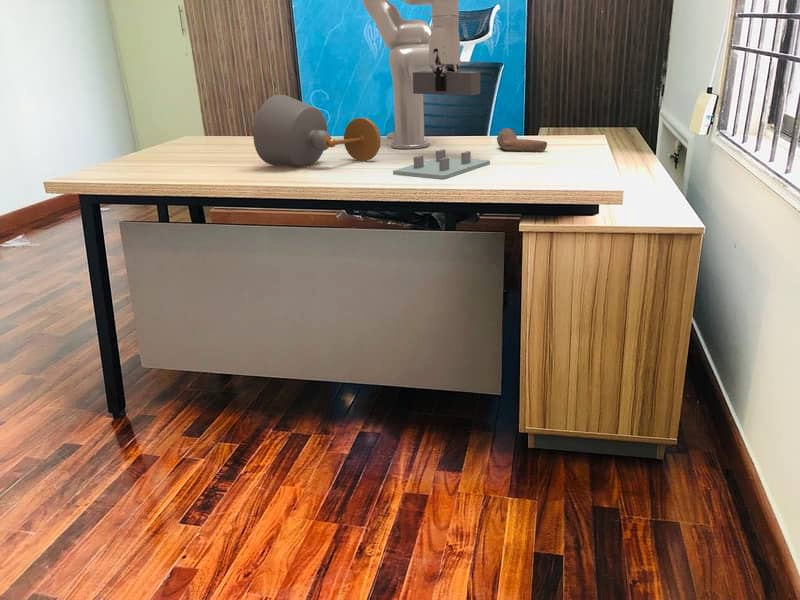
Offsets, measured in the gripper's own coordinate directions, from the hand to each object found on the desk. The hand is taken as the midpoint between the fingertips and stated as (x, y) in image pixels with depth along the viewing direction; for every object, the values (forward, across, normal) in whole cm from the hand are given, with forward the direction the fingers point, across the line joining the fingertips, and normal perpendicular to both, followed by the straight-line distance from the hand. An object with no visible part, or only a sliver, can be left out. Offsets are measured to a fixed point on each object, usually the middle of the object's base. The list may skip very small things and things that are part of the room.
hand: (446, 89), depth 203 cm
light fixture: (+20, +28, -26) cm, 43 cm away
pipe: (+20, -20, +14) cm, 32 cm away
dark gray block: (+1, 0, 0) cm, 1 cm away
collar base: (+19, +18, +10) cm, 28 cm away
